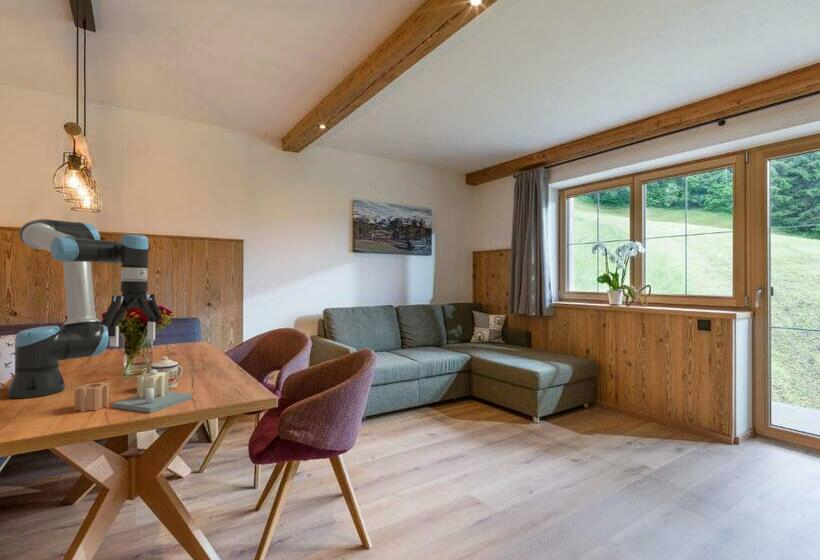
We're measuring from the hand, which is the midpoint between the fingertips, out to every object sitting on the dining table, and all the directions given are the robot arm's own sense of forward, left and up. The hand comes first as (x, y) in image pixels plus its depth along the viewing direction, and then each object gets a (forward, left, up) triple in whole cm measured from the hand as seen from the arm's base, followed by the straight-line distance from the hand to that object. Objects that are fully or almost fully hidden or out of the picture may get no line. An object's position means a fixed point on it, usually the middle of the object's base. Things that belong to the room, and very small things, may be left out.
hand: (133, 343), depth 136 cm
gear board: (+8, +1, -20) cm, 21 cm away
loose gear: (-6, -9, -20) cm, 23 cm away
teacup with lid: (-5, +18, -20) cm, 28 cm away
